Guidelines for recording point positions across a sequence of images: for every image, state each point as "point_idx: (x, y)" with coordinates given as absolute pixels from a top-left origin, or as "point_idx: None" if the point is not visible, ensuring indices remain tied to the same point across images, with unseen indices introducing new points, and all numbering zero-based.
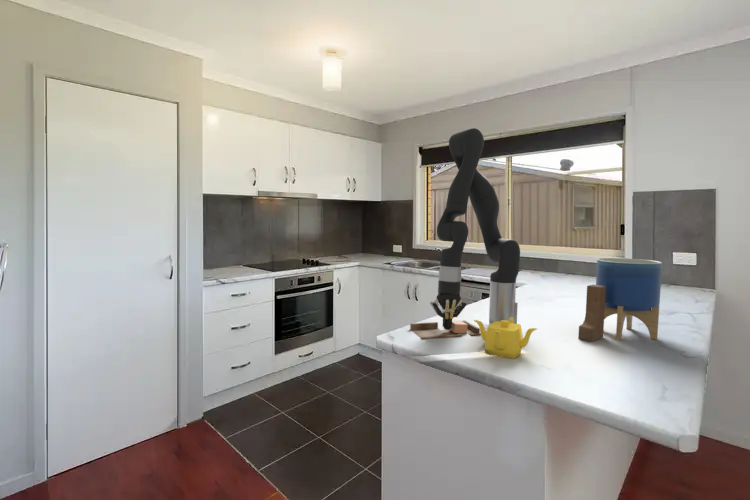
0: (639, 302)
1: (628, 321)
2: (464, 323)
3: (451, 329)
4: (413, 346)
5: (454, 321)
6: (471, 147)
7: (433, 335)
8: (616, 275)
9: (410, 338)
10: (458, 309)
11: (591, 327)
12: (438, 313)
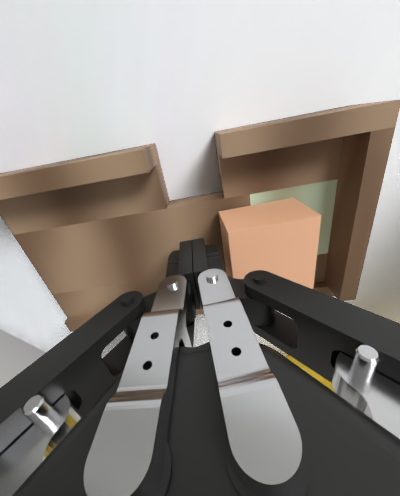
0: None
1: None
2: (305, 272)
3: (223, 240)
4: (54, 331)
5: (257, 239)
6: None
7: (121, 288)
8: None
9: (23, 255)
10: (301, 357)
11: None
12: (110, 360)
